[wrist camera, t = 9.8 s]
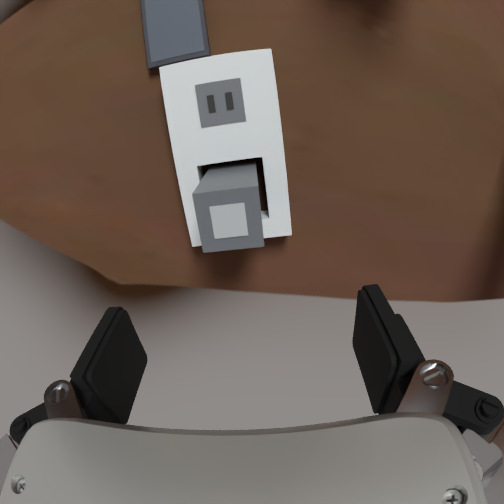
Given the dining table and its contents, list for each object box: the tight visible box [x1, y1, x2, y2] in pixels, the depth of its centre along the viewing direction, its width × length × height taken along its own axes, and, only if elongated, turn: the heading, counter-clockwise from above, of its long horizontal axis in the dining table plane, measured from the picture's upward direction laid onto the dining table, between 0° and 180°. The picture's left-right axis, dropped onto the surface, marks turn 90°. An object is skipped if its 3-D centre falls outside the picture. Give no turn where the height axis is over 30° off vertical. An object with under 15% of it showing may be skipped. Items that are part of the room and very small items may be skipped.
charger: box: [192, 161, 264, 253], centre depth 25 cm, size 4×4×10 cm
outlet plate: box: [159, 49, 292, 247], centre depth 27 cm, size 10×18×3 cm, turn 7°
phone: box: [141, 0, 211, 69], centre depth 21 cm, size 6×11×1 cm, turn 7°
